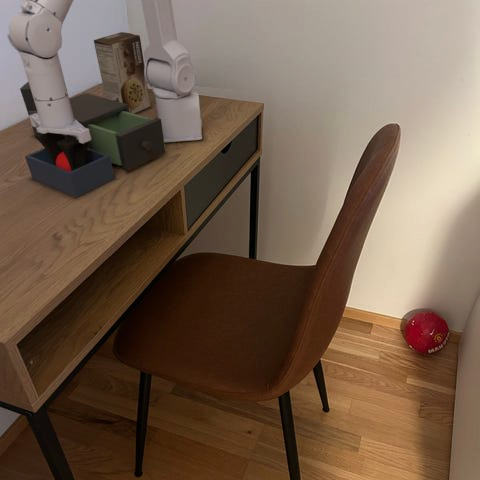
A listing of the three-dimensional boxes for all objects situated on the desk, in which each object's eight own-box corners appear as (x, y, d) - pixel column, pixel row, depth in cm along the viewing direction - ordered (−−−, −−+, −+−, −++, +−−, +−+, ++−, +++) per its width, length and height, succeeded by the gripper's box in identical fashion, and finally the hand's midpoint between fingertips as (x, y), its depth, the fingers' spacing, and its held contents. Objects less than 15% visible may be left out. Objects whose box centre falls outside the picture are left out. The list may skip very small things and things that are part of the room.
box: (114, 178, 91) (109, 155, 87) (76, 197, 85) (69, 173, 82) (71, 162, 97) (65, 139, 93) (32, 178, 91) (24, 155, 88)
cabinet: (135, 144, 103) (128, 104, 97) (92, 164, 96) (82, 121, 90) (94, 131, 109) (85, 92, 103) (51, 149, 102) (39, 108, 96)
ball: (86, 169, 92) (80, 145, 89) (84, 180, 89) (77, 155, 86) (61, 171, 92) (54, 147, 89) (58, 182, 89) (50, 157, 85)
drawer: (169, 153, 97) (165, 120, 92) (131, 172, 90) (124, 137, 86) (124, 139, 103) (118, 107, 98) (85, 156, 97) (76, 122, 92)
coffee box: (133, 102, 123) (121, 31, 112) (151, 107, 120) (141, 34, 109) (107, 113, 118) (92, 39, 107) (125, 118, 115) (111, 42, 104)
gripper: (5, 94, 82) (30, 169, 91) (57, 110, 75) (79, 189, 84) (40, 84, 86) (60, 156, 95) (92, 98, 79) (109, 175, 88)
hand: (71, 171), depth 90 cm, fingers closed on ball, 4 cm apart
